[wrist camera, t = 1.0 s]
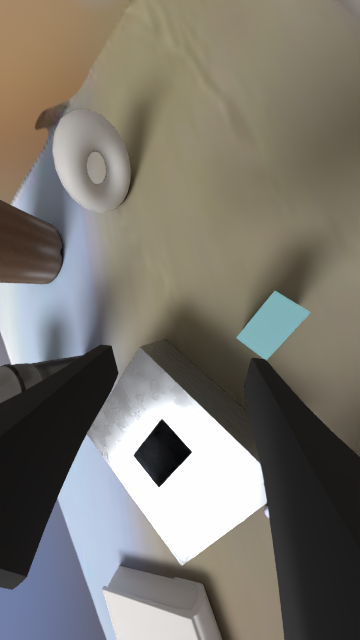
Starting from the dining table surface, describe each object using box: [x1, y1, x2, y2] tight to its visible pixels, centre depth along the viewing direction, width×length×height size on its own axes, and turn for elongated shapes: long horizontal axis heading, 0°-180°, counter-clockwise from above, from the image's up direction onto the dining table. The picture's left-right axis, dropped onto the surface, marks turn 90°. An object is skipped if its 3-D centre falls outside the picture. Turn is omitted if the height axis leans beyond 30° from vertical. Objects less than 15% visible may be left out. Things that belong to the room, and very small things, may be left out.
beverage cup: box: [0, 355, 83, 403], centre depth 23 cm, size 7×7×20 cm
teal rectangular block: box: [237, 291, 310, 360], centre depth 17 cm, size 3×5×6 cm, turn 145°
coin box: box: [87, 339, 267, 565], centre depth 22 cm, size 18×16×6 cm
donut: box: [52, 109, 131, 212], centre depth 23 cm, size 10×3×10 cm, turn 149°
